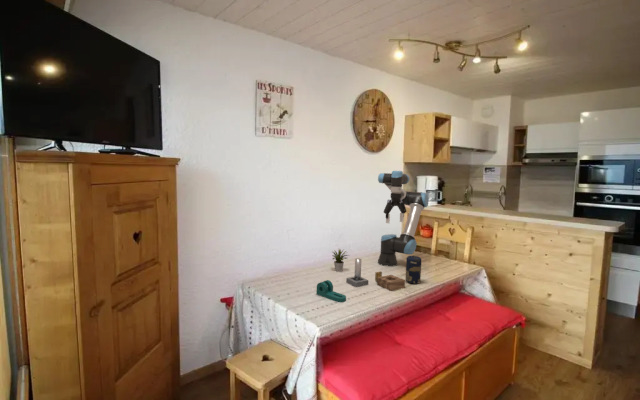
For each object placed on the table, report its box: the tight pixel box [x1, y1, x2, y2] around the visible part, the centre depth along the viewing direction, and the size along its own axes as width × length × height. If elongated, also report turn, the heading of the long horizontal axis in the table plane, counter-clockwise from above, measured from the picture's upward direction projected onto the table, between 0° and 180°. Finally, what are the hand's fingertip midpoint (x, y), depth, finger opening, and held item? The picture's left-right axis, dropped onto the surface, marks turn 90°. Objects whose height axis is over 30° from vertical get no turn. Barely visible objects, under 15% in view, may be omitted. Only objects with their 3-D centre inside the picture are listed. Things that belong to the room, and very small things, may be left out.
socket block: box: [376, 274, 406, 292], centre depth 208 cm, size 12×12×5 cm
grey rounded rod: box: [353, 258, 362, 281], centre depth 211 cm, size 4×4×16 cm
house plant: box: [332, 248, 349, 272], centre depth 237 cm, size 14×14×16 cm
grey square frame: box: [345, 276, 369, 288], centre depth 211 cm, size 10×10×3 cm
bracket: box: [316, 279, 347, 303], centre depth 187 cm, size 18×7×8 cm, turn 49°
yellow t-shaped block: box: [374, 270, 383, 282], centre depth 214 cm, size 10×4×6 cm, turn 33°
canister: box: [405, 255, 422, 285], centre depth 217 cm, size 10×10×18 cm
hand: (394, 222), depth 233 cm, fingers open, 13 cm apart
